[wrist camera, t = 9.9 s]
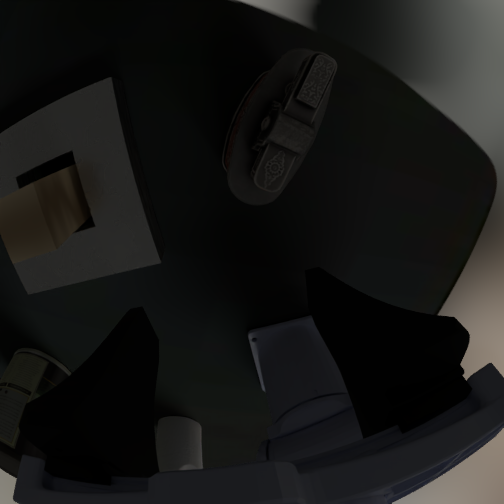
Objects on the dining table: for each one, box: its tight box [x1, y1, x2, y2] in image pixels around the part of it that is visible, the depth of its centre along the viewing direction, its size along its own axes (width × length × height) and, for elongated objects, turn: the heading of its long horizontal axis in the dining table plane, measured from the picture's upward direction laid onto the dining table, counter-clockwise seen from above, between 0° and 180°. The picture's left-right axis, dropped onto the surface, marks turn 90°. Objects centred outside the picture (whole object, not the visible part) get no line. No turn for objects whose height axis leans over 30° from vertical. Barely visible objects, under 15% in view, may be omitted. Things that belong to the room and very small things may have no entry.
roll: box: [156, 416, 203, 472], centre depth 27 cm, size 6×12×6 cm
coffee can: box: [0, 348, 72, 478], centre depth 20 cm, size 10×10×14 cm
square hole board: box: [0, 77, 166, 294], centre depth 17 cm, size 13×13×2 cm
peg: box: [0, 164, 92, 264], centre depth 16 cm, size 4×4×7 cm
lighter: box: [222, 48, 337, 205], centre depth 14 cm, size 8×3×10 cm, turn 156°
